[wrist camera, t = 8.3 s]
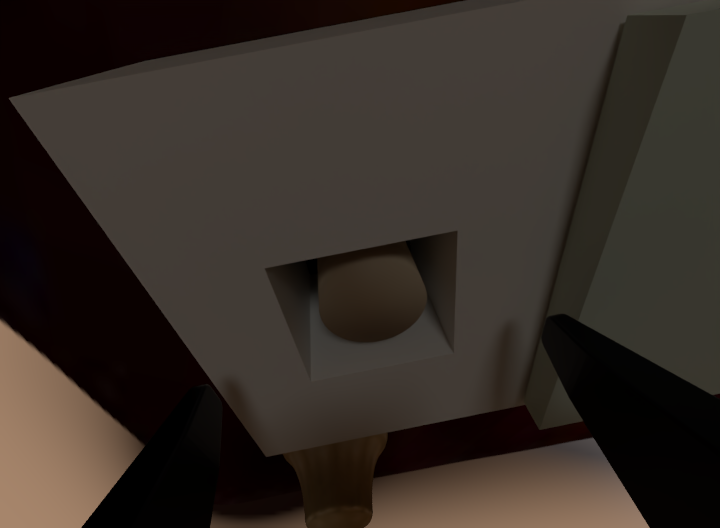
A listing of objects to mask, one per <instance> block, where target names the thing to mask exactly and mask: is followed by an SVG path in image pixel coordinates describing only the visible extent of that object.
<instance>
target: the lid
mask: <svg viewBox="0 0 720 528" xmlns="http://www.w3.org/2000/svg"><path fill="white" fill-rule="evenodd" d="M556 314H566V315H568V316H570V317H572V318H574V319H576V320H577V321H579V322H581V323H583V324H585V325H586V326H588V327H590V328H592V329H594V330H595V331H597V332H599V333H601V334H603V335H605V336H606V337H608V338H610V339H612V340H614V341H615V342H617V343H619V344H621V345H623V346H625V347H626V348H628V349H630V350H632V351H634V352H635V353H637V354H639V355H641V356H643V357H644V358H646V359H648V360H650V361H652V362H654V363H655V364H657V365H659V366H661V367H663V368H664V369H666V370H668V371H670V372H672V373H673V374H675V375H677V376H679V377H681V378H683V379H684V380H686V381H688V382H690V383H692V384H693V385H695V386H697V387H699V388H701V389H702V390H704V391H706V392H708V393H710V394H712V395H714V394H719V393H720V0H705V1H700V2H695V3H689V4H684V5H679V6H674V7H668V8H663V9H658V10H653V11H647V12H642V13H637V14H632V15H627V18H626V22H625V25H624V29H623V33H622V36H621V40H620V44H619V48H618V51H617V55H616V59H615V63H614V66H613V70H612V74H611V77H610V81H609V85H608V89H607V92H606V96H605V100H604V103H603V107H602V111H601V115H600V118H599V122H598V126H597V130H596V133H595V137H594V141H593V144H592V148H591V152H590V156H589V159H588V163H587V167H586V171H585V174H584V178H583V182H582V185H581V189H580V193H579V197H578V200H577V204H576V208H575V211H574V215H573V219H572V223H571V226H570V230H569V234H568V238H567V241H566V245H565V249H564V252H563V256H562V260H561V264H560V267H559V271H558V275H557V278H556V282H555V286H554V290H553V293H552V297H551V301H550V305H549V308H548V312H547V316H546V318H547V317H548V316H551V315H556ZM545 320H546V319H545ZM544 324H545V323H544ZM543 328H544V327H543ZM541 335H542V334H541ZM524 403H525V405H526V407H527V409H528V410H529V412H530V414H531V416H532V418H533V419H534V421H535V423H536V425H537V426H538V428H539V430H541V429H546V428H551V427H556V426H561V425H566V424H571V423H576V422H581V421H583V420H582V418H581V417H580V415H579V413H578V412H577V410H576V409H575V407H574V405H573V404H572V402H571V400H570V399H569V397H568V395H567V393H566V391H565V389H564V387H563V385H562V383H561V381H560V379H559V377H558V375H557V373H556V371H555V369H554V367H553V365H552V363H551V361H550V358H549V356H548V354H547V352H546V350H545V348H544V346H543V344H542V340H541V338H540V342H539V346H538V349H537V353H536V357H535V360H534V364H533V368H532V372H531V375H530V379H529V383H528V386H527V390H526V394H525V398H524Z"/></svg>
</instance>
